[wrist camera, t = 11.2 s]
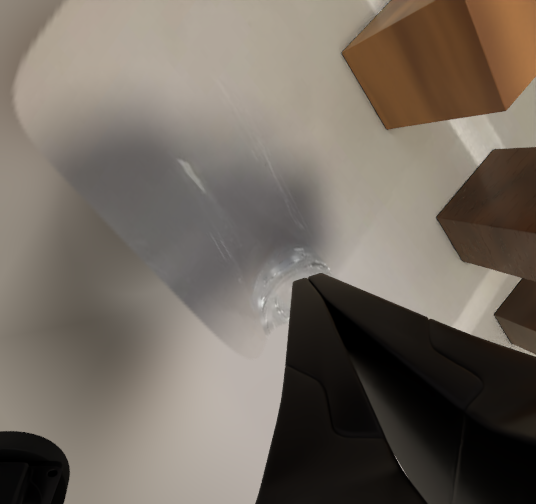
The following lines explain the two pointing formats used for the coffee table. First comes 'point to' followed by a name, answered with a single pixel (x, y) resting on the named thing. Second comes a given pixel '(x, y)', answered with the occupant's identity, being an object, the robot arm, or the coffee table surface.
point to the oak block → (445, 58)
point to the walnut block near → (497, 214)
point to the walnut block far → (520, 315)
